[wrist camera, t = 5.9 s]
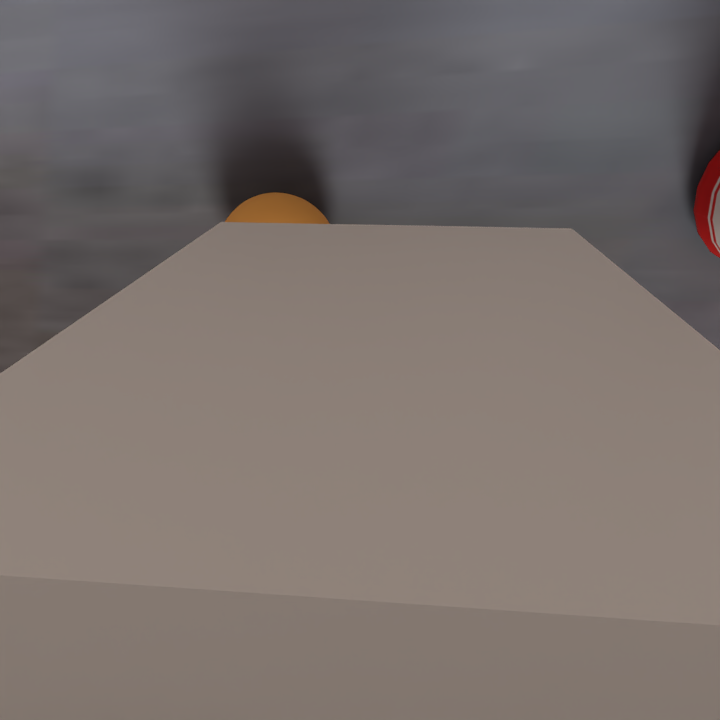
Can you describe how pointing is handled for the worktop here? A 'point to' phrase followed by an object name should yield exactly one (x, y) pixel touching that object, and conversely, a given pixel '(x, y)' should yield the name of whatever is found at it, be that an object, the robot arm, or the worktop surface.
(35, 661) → the cream cube
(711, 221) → the beer can
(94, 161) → the worktop surface
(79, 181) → the worktop surface
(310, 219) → the ball
